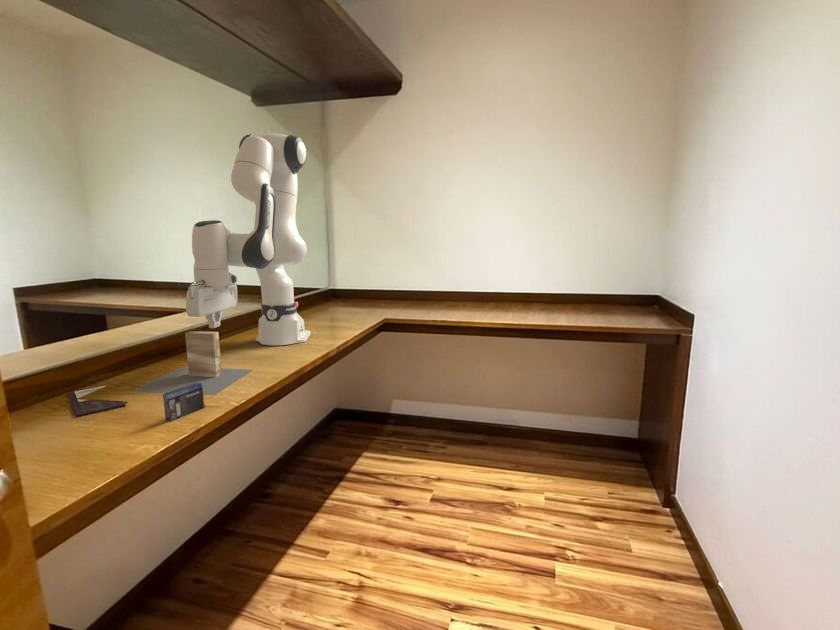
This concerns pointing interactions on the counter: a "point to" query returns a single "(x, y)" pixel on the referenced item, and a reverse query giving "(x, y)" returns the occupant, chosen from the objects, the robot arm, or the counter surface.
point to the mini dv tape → (183, 401)
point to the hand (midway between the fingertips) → (214, 327)
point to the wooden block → (203, 353)
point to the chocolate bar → (91, 403)
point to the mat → (193, 381)
